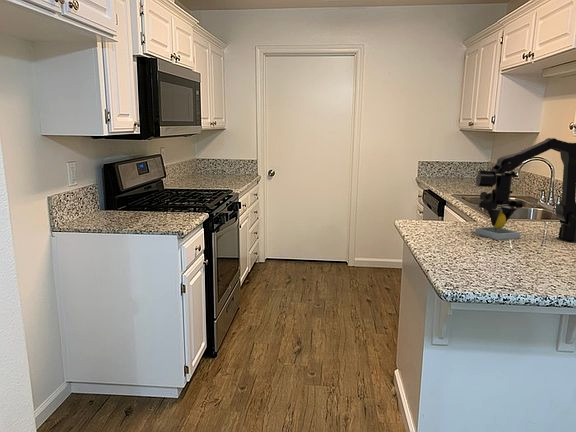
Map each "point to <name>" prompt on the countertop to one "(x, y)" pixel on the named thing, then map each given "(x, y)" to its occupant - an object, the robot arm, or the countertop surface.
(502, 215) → the lemon
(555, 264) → the countertop surface
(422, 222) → the countertop surface
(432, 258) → the countertop surface
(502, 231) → the dish
